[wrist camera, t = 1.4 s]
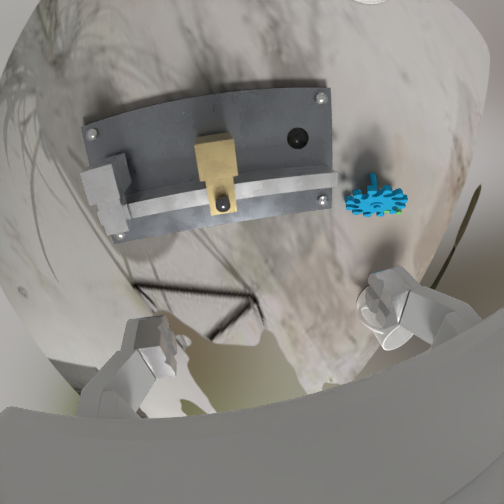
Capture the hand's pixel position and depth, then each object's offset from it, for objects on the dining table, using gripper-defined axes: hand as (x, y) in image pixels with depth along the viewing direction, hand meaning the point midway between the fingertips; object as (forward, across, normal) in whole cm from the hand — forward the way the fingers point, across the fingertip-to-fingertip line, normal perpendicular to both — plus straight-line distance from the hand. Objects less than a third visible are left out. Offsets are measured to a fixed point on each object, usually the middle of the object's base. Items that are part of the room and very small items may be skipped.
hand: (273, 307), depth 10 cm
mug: (+30, -26, +32) cm, 51 cm away
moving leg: (+28, +1, +1) cm, 28 cm away
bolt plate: (+29, +1, 0) cm, 29 cm away
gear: (+30, -22, +8) cm, 38 cm away
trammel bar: (+28, +1, +1) cm, 28 cm away
